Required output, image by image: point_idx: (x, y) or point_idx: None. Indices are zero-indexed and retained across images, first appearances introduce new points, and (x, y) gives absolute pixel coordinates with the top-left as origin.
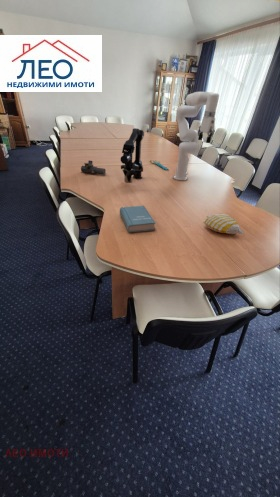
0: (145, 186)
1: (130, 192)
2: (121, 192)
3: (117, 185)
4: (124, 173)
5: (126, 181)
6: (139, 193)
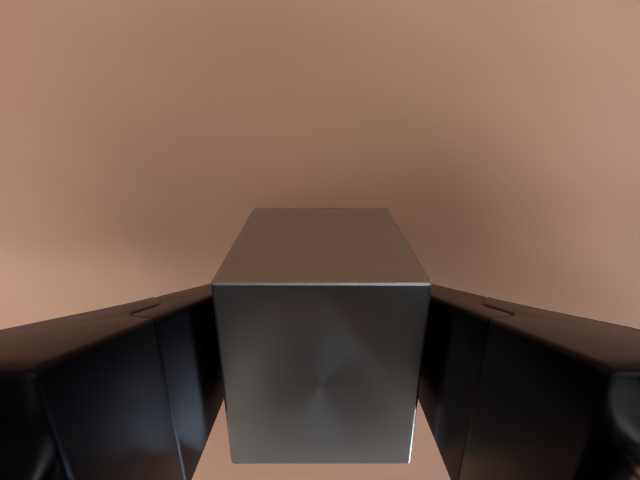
0: (301, 473)
1: (100, 193)
2: (113, 11)
3: (507, 70)
4: (489, 334)
5: (244, 227)
6: (49, 313)
